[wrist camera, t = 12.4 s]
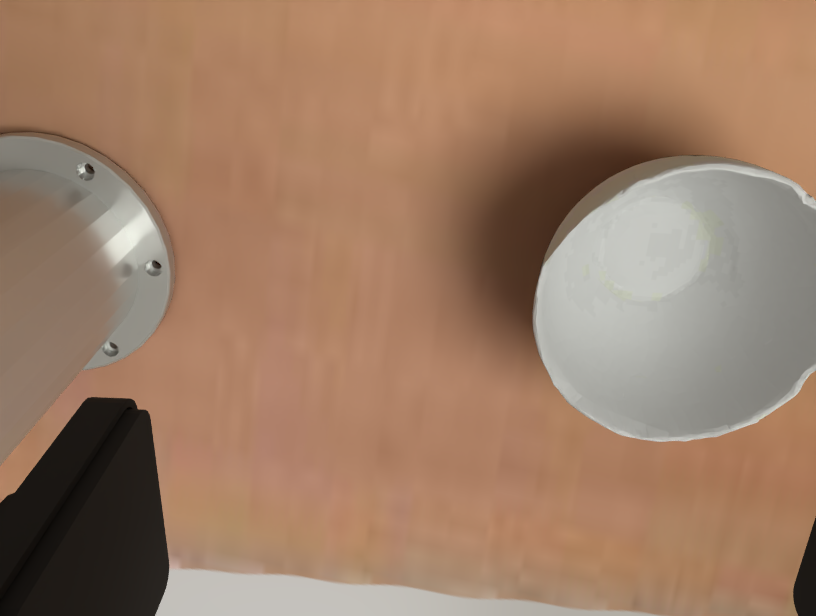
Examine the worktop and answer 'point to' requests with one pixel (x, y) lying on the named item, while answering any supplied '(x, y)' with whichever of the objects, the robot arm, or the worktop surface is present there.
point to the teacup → (681, 298)
